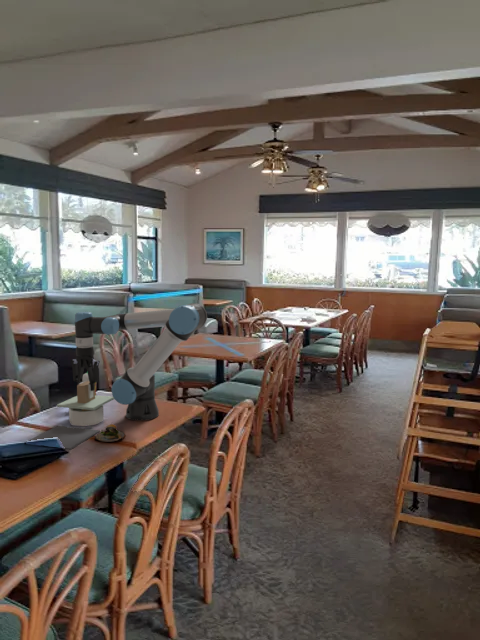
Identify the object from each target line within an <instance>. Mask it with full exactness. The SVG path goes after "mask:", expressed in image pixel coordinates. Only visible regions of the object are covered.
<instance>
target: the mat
mask: <svg viewBox="0 0 480 640" xmlns="http://www.w3.org/2000/svg"><path fill="white" fill-rule="evenodd" d="M100 432H101V430H99V429H91V428H81V427H75V426H73V427H72V426H65V425H64V426H63V425H56V426H54V427H52V428H50V429H48V430H46V431H44V432H42V433H40V434H39V435H36V436H34V437H33V438H31V439H28V440H27V441H31V440H37V439H44V438H53V437H58V438H59V439H60V441H61V442H62V444H63V446H64V447H65V449H64V450H70V451H71V450H73V449H74V448H76V447H78V446H79V445H81V444H83V443H84V442H86V441H87V440H89V439H90V438H92V437H94V436H96V435H97V434H99V433H100Z"/></svg>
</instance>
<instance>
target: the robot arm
mask: <svg viewBox="0 0 480 640" xmlns="http://www.w3.org/2000/svg"><path fill="white" fill-rule="evenodd" d="M207 320H208V313H207V310H206V309H205V307H204V306H203V305H202V304H199V303H197V302H192V303H188V304H187V303H186V304H181V305H178V306H177V307H175V308H171V309H170V308H169V309H160V310H149V311H139V312H128V313H117V314H112V315H107V316H93V313H92V312H91V311H78V312H76V313H75V314H74V331H75V355H76V357H75V358H74V359H71V360H70V364H71V367H72V368H71V369H72V378H73V379H72V380H73V382H76V383H77V385H79V384H81V383H84V382H83V380H82V379H83V374H84V372H85V369H86V373H88V378H89V382H90V383H89V384H88V393H89V398H92V397H93V391H94V390H95V385H94V384H95V383H96V382H97V383H98V382H99V365H100V360H96V359H95V358H94V357H95V356H94V334H95V335H106V336H107V335H108V336H109V335H116V334H117V332H118V331H126V330H136V329H149V328H160V327H161V328H162V327H165V329H164V330H163V331H162V333H161V334H160V335H159V336H158V337H157V339H156V340H155V341H154V342H153V344H152V345H151V346H150V347H149V349H148V350H146V352H145V353H144V354H143V356H142V357H141V358H140V360H138V362H137V363H136V364H135V365H134V367H129V368H127V370H126V371H125V372H124V373H123V375H122V376H121V377H120V378H118V379H116V380H115V381H114V382H113V384H112V385H111V395H112V397H114V399H113V400H115V401H116V402H117V403H118V404H121V405H125V406H126V405H127V408H126V411H125V417H126V419H128V420H132V421H148V420H149V421H150V420H153V419H156V418H157V417H158V416H159V414H160V413H159V407H158V404H157V402H156V396H155V394H156V393H155V391H156V390H155V389H156V388H155V386H156V385H155V383H156V381H155V379H156V378H155V377H156V376H155V375H156V372H157V371H158V370H159V369H160V367H161V366H162V365H163V364H164V362H166V361H167V360H168V358H169V357H170V355H171V354H172V353H173V352H174V351H175V350H176V348H177V347H178V346H179V345H180V344H181V343H182V342H187V341H188V339H190V337H192V335H193V334H194V333H195V331H196V330H199V329H200V328H202V327H203V326H204V325H205V324H206V322H207ZM97 383H96V384H97Z"/></svg>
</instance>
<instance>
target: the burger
mask: <svg viewBox="0 0 480 640" xmlns="http://www.w3.org/2000/svg"><path fill="white" fill-rule="evenodd" d="M94 436H95V437H94V440H98V441H99V442H104V443H105V442H106V443H107V442H108V443H109V442H110V443H111V442H115V441H116V442H117V441H119V440H121V441H122V440H123V441H124V440H125V439H126V434H125V432H123V431H121V430H118V429H117V426H116V425H115V424H113V423H111V424H108V425H107V426H106V427H105V430H104V431H103V430H100V432H99V433H97V434H95V435H94Z"/></svg>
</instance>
